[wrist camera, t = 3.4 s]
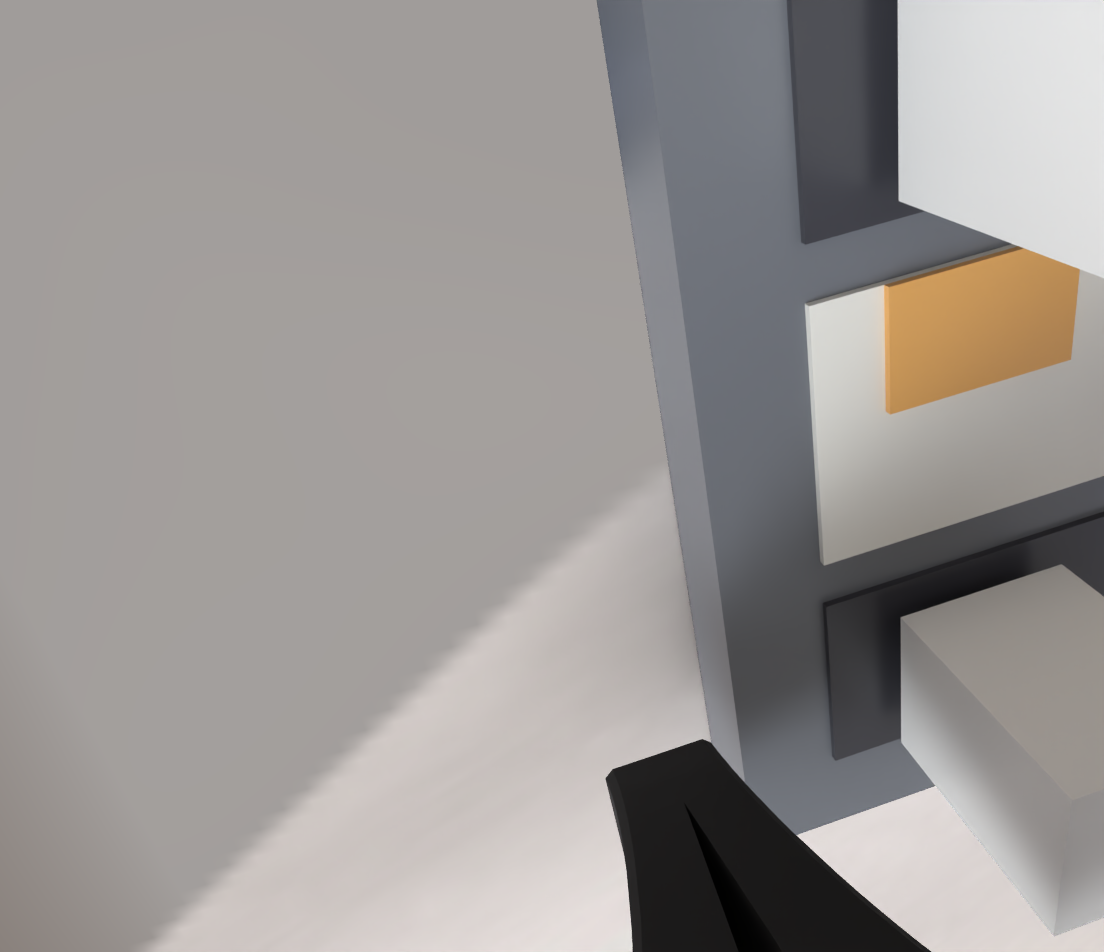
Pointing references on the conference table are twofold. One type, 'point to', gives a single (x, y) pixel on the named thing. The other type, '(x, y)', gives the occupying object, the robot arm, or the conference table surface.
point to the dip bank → (836, 383)
